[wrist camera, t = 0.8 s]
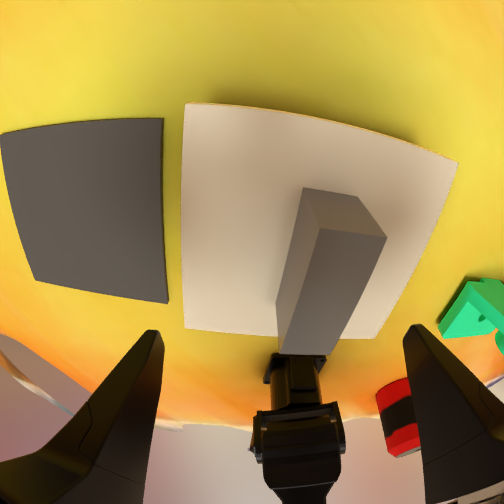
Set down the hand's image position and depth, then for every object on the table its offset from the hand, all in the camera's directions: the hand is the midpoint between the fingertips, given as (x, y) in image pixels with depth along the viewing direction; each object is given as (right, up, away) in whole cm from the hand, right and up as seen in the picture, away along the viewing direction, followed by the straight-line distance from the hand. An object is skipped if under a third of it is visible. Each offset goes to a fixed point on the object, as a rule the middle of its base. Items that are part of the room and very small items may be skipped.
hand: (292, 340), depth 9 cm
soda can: (+23, -19, +29) cm, 41 cm away
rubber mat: (-16, +6, +11) cm, 20 cm away
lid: (+2, +3, +8) cm, 9 cm away
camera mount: (+27, -3, +18) cm, 32 cm away
